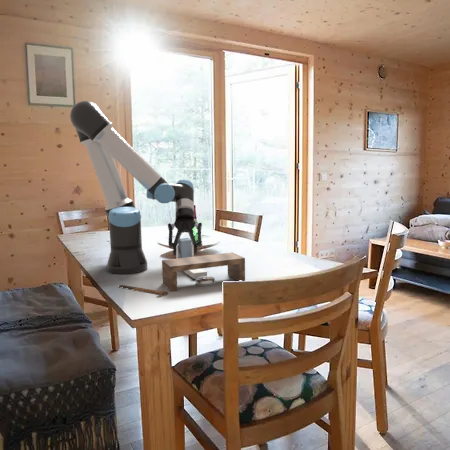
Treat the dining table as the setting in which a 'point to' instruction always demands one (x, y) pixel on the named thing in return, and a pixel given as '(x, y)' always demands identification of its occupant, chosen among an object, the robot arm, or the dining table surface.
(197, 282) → the disc
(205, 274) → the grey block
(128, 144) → the robot arm
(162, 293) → the tomahawk
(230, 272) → the bench
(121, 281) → the dining table surface
